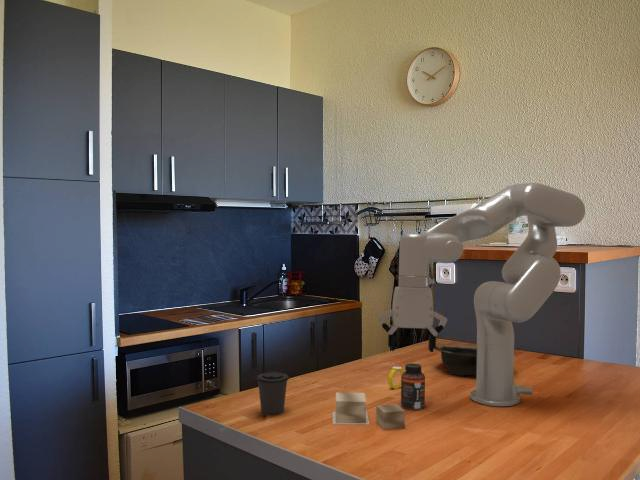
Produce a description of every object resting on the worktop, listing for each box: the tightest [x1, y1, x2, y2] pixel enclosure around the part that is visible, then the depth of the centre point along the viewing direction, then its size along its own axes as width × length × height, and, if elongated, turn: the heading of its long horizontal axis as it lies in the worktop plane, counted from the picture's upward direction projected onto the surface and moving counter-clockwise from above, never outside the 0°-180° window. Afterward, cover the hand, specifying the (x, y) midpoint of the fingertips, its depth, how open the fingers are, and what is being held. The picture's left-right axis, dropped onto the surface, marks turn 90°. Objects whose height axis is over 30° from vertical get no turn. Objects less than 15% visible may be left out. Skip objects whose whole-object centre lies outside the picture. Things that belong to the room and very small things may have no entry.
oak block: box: [375, 403, 406, 431], centre depth 130 cm, size 5×5×4 cm
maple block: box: [335, 391, 367, 423], centre depth 135 cm, size 7×7×5 cm
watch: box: [387, 366, 405, 390], centre depth 163 cm, size 6×3×6 cm, turn 130°
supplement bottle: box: [400, 362, 426, 412], centre depth 144 cm, size 6×6×11 cm
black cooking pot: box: [433, 344, 477, 377], centre depth 183 cm, size 25×25×9 cm
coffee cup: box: [256, 371, 290, 418], centre depth 140 cm, size 8×8×10 cm
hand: (411, 350), depth 143 cm, fingers open, 9 cm apart
